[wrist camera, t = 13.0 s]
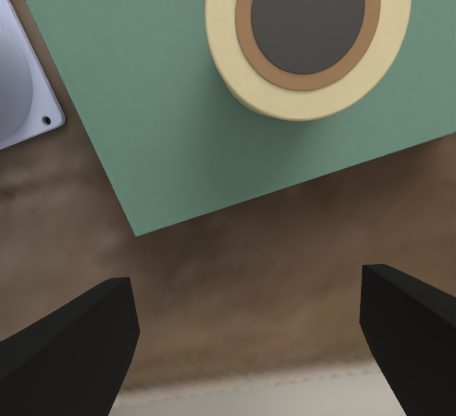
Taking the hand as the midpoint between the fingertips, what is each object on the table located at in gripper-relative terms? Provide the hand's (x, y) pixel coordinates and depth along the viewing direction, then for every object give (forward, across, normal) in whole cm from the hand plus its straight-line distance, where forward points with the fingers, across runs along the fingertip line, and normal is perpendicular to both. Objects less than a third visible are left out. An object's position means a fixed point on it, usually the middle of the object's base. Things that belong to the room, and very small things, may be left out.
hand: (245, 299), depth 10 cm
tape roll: (+5, -2, -8) cm, 10 cm away
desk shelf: (+10, -2, -8) cm, 13 cm away
